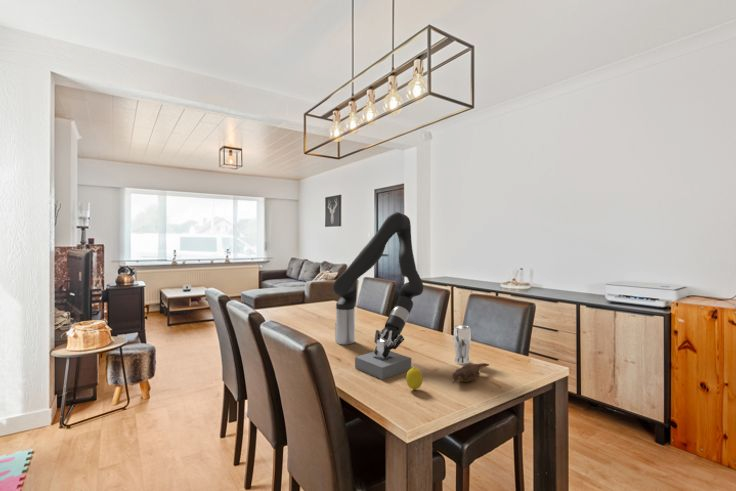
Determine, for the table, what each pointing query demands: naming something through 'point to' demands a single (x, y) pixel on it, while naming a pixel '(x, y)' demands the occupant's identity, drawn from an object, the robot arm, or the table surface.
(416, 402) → the table surface
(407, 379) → the lemon
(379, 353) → the steel bar
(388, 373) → the well block
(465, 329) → the beer glass
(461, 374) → the bird sculpture
